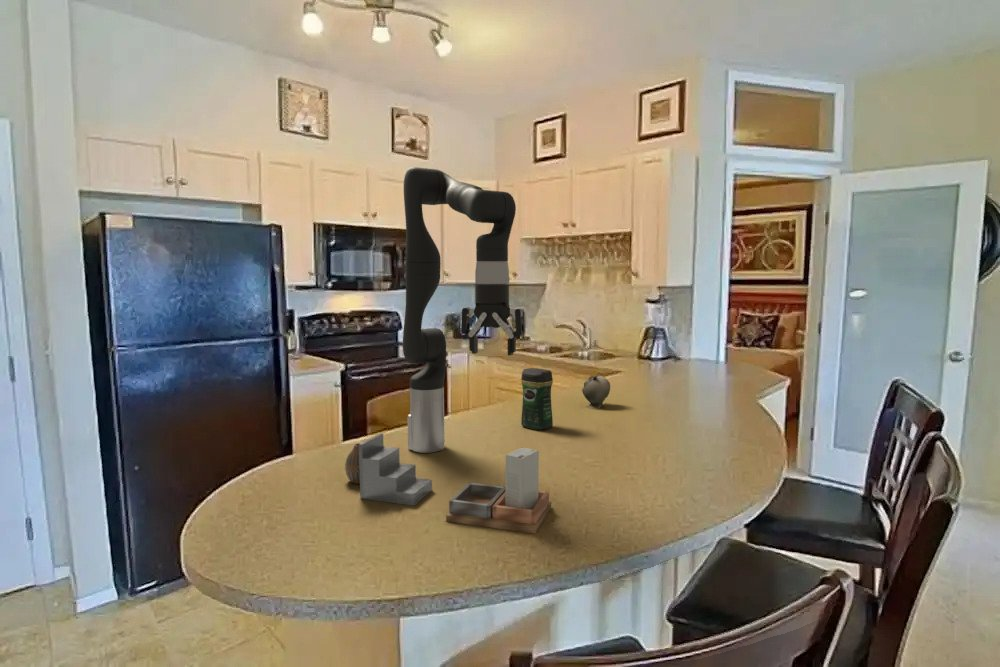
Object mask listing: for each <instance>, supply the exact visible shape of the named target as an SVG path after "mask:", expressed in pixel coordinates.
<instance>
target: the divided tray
mask: <svg viewBox="0 0 1000 667" xmlns="http://www.w3.org/2000/svg"><path fill="white" fill-rule="evenodd" d="M448 504H449V505H448V506H449V507H448V508H449V510H448V513H447V514H446V515H445V522H449V523H456V524H457V523H458V524H463V525H464V524H465V525H470V526H472V525H473V526H478V527H485V528H491V529H499V530H506V531H514V532H520V533H527V534H536V533H537V531H538V529H539V528H540V526H541V525H542V522H544V520H545V518H546V516H547V515H548V513H549V511H550V510H551V508H552V501H550V491H543V490H538V503H537V504H536V506H535V507H534V509H533V510H530V509H522V508H515V507H507V506H505V486H501V485H493V484H483V483H476V482H468V483H467V484H465V486H463V488H461V489H460V490H459V491H458V492H457V493H455V495H454V496H453V497H452V498H450V499H449V502H448Z"/></svg>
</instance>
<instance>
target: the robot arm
mask: <svg viewBox="0 0 1000 667" xmlns="http://www.w3.org/2000/svg"><path fill="white" fill-rule="evenodd" d="M403 202H404V214H405V215H404V216H405V232H406V233H405V235H406V236H405V238H406V239H405V240H406V241H405V310H404V322H403V331H402V332H403V333H402V352H403V356H404V359H405V361H406V362H407V363H408V364H413V365H414V364H425V366H424V367H423V368H422V369H421V370H420V371H419V372H416V373H415V374H413V375H412V376H411V377H410V378H409V398H410V399H409V402H410V403H409V405H410V406H409V407H410V409H409V410H410V412H409V413H410V414H407V416H406V417H407V419H406V420H407V449H408V450H410V451H413V452H415V453H425V454H426V453H437V452H440V451H442V450H444V449H445V442H446V440H445V398H444V397H445V396H444V395H445V390H444V387H445V386H444V383H445V382H444V381H445V377H446V369H447V368H446V364H447V361H446V360H447V342H446V337H445V334H444V332H443V330H441V329H440V328H436V327H432V328H431V327H430V328H429V327H428V328H422V324H423V316H424V314H425V311H426V308H427V306H428V305H429V304H428V303H429V302H430V301H431V299H432V298H433V296H434V294H435V292H436V291H437V289H438V287H439V284H440V281H441V266H442V265H441V261H442V260H441V255H440V254H441V253H440V250H439V249H438V247H437V245H436V243H435V241H434V239H433V238H432V236H431V234H430V233H429V231H428V228H427V226H426V224H425V219H424V215H423V214H424V213H423V205H427V206H437V205H448V207H449V208H451V209H452V210H453V211H456V212H457V213H460V214H463V215H465V216H466V217H468V219H469V220H471V221H473V222H476V223H481V224H493V227H492V229H491V231H490V233H489V232H488V233H485V234H481V235H479V236H478V237H477V238H476V243H475V246H476V247H475V249H476V250H475V252H476V254H475V256H476V262H475V276H474V277H475V279H474V280H475V284H474V285H475V288H474V289H475V297H474V298H475V305H474V306H475V307H474V308H472V307H468V306H467V307H463V308H462V309H461V324H460V326H461V328H460V332H461V334H462V335H466V336H467V337H468V339H469V340H468V342H469V343H468V344H469V345H468V346H469V347H468V348H469V351H470V352H471V354H474V355H475V354H477V353H478V352H479V346H478V342H479V341H478V340H479V337H478V336H477V335H478V334H480V332H481V330H482V329H483V328H495V329H497V328H500V329H501V330H502V332H503V331H504V333H505V335H506V336H507V337H508V338H507V356H513V355H514V353H516V350H517V347H516V346H517V338H518V337H520V336H523V335H524V334H525V320H524V317H525V316H524V309H523V308H521V307H520V308H515V309H514V308H513V309H511V307H510V268H509V240H510V235H511V232H512V227H513V223H514V221H515V216H516V210H517V209H516V208H517V207H516V201H515V199H514V197H513V195H512V194H511V193H509V192H507V191H503V190H502V191H499V190H498V191H497V190H491V189H490V190H489V189H483V188H482V187H479V186H477V185H475V184H472V183H467V182H463V181H459V180H456V179H455V178H453V177H452V176H450V175H449V174H447V173H446V172H444V171H442V170H439V169H435V168H426V167H419V166H412V167H409V168H408V169H407V170H406V172H405V175H404V179H403ZM473 316H475V318H476V319H477V320H476V321H475V322H474V324H473V326H472V328H471V318H473ZM510 316H512V318H513V319H514V320H515V323H514V324H515V330H514V328H513V326H512V324H511V323H510V321H509V320H508V319H509V318H510Z"/></svg>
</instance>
